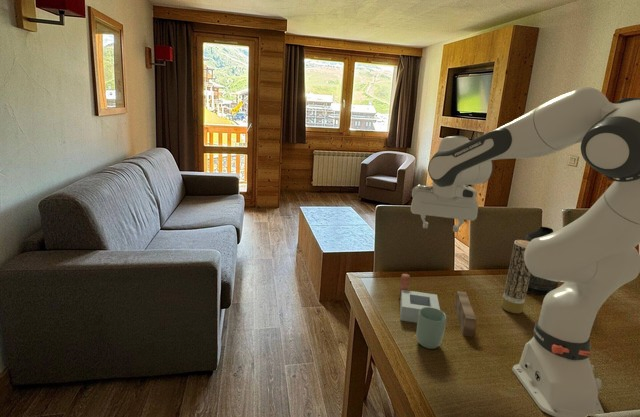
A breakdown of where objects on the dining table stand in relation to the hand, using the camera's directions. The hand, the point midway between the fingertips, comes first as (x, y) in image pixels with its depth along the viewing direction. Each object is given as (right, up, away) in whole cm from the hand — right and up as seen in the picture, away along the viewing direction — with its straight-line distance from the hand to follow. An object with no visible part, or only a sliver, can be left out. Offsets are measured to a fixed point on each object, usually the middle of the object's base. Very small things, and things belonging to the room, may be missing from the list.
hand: (440, 229), depth 121 cm
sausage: (-9, -26, +15) cm, 31 cm away
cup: (-7, -33, -11) cm, 36 cm away
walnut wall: (+9, -30, +3) cm, 32 cm away
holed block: (-6, -29, +6) cm, 30 cm away
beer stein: (+48, -25, +30) cm, 62 cm away
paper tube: (+29, -29, +12) cm, 43 cm away
